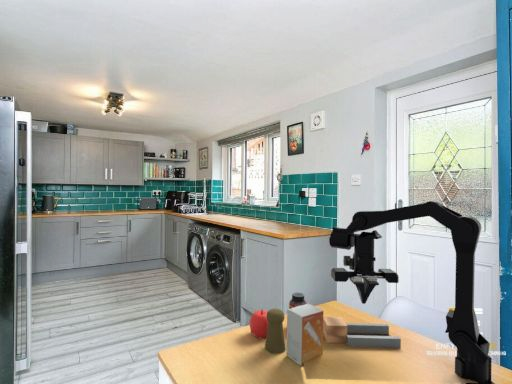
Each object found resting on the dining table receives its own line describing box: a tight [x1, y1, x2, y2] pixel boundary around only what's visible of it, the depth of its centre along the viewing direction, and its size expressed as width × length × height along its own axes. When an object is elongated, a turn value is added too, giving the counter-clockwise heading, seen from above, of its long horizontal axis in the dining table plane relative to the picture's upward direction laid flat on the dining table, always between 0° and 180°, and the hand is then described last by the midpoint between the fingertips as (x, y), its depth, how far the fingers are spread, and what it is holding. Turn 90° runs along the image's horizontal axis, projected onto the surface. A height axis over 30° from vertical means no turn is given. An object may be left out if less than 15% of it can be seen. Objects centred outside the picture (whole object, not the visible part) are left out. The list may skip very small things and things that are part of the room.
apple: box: [248, 309, 269, 339], centre depth 93 cm, size 8×8×8 cm
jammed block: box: [323, 316, 348, 344], centre depth 90 cm, size 6×6×5 cm
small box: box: [286, 303, 324, 367], centre depth 81 cm, size 8×6×13 cm
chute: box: [345, 322, 402, 349], centre depth 89 cm, size 15×10×4 cm, turn 88°
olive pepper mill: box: [264, 308, 287, 355], centre depth 85 cm, size 6×6×11 cm
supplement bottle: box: [288, 292, 308, 309], centre depth 98 cm, size 6×6×11 cm
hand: (363, 303), depth 89 cm, fingers closed
